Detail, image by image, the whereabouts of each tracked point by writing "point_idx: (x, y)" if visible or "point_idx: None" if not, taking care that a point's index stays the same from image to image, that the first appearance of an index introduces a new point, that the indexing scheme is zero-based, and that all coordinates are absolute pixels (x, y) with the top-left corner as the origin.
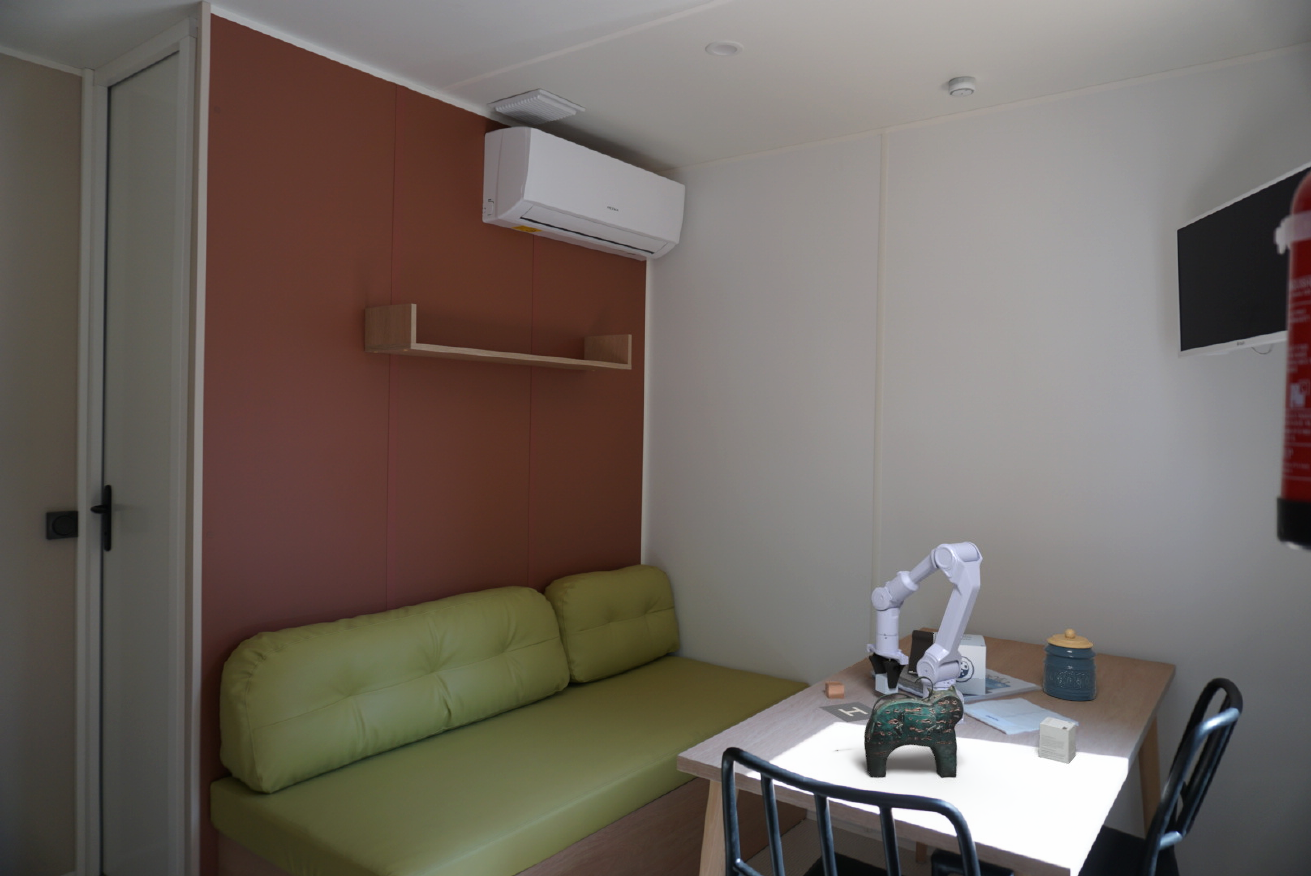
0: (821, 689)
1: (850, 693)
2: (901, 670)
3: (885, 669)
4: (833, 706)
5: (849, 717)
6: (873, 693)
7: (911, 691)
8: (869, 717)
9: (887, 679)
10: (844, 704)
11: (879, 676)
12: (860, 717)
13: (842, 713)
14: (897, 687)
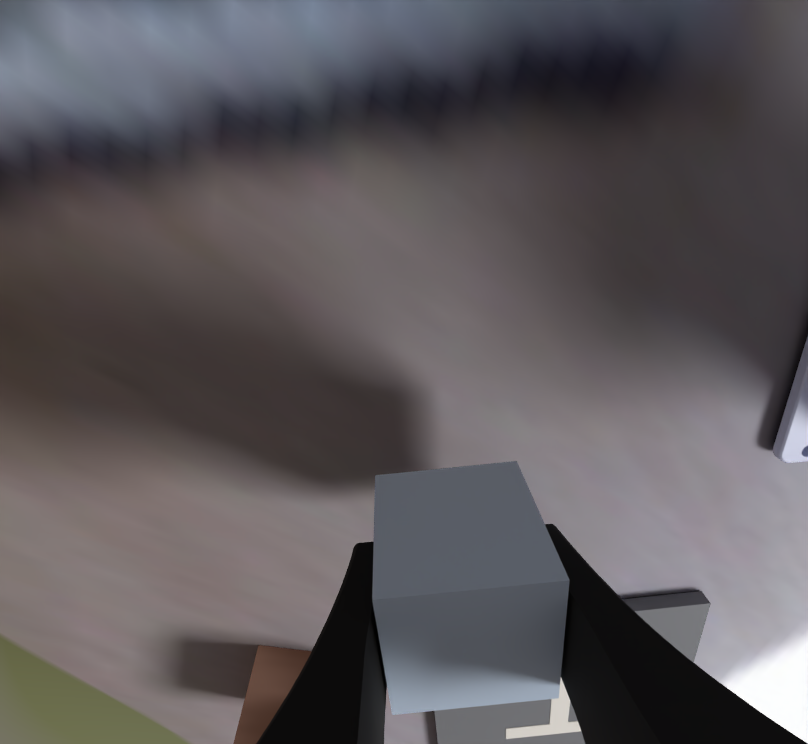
0: (114, 678)
1: (210, 581)
2: (727, 698)
3: (368, 673)
4: (456, 740)
5: None
6: (226, 454)
7: (199, 75)
8: None
9: (562, 673)
10: None
11: (456, 703)
12: None
13: (561, 740)
14: (529, 497)
